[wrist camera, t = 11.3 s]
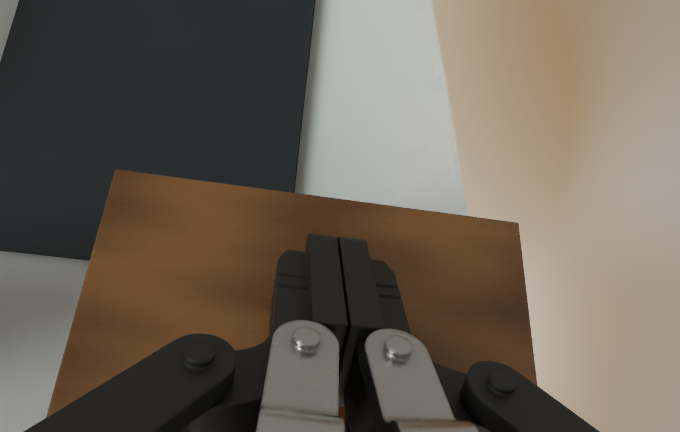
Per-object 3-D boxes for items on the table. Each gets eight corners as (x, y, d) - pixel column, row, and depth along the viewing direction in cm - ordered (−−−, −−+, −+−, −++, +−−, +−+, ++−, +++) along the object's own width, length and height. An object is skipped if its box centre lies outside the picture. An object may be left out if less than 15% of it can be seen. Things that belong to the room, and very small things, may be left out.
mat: (317, -25, 39) (318, -32, 38) (283, 281, 32) (284, 280, 31) (48, -78, 36) (44, -85, 35) (-51, 245, 29) (-56, 242, 29)
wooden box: (420, 479, 22) (417, 314, 26) (548, 471, 14) (518, 222, 17) (117, 461, 21) (154, 287, 24) (39, 440, 12) (114, 167, 15)
